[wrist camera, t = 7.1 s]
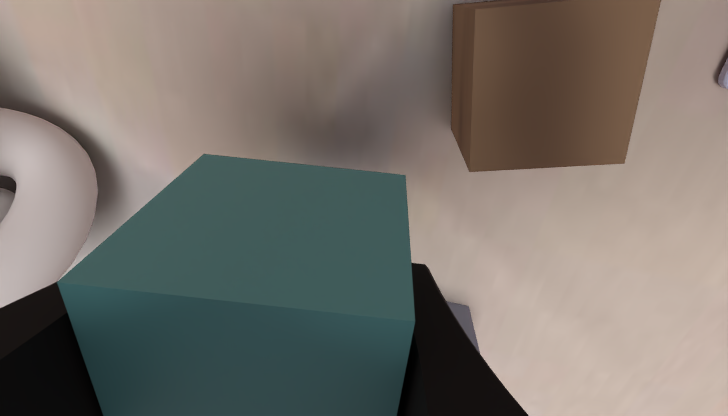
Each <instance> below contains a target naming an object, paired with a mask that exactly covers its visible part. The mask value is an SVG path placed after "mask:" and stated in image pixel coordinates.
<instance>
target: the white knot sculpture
mask: <svg viewBox="0 0 728 416" xmlns="http://www.w3.org/2000/svg"><path fill="white" fill-rule="evenodd" d="M0 175H2V176H8V177H11V178H13V179H14V180H15V182H16V186H17V188H16V193H13V192H11V191H9V190H7V189H4V188H0V308H1V307H4V306H6V305H8V304H10V303H12V302H14V301H17V300H19V299H21V298H23V297H25V296H27V295H29V294H32V293H34V292H36V291H38V290H40V289H42V288H45V287H47V286H49V285H51V284H53V283H55V282H57V281H58V280H59V279H60V277H61V276H62V275H63V274H64V273H65V272H66V270H67V269H68V268H69V267H70V266H71V264H72V263H73V261H74V260H75V258H76V256H77V255H78V253H79V251H80V250H81V248H82V246H83V245H84V243H85V241H86V239H87V236H88V234H89V231H90V228H91V226H92V223H93V220H94V216H95V210H96V203H97V195H98V187H97V179H96V172H95V169H94V167H93V165H92V162H91V160H90V158H89V156H88V154H87V153H86V151H85V150H84V149H83V148H82V146H81V145H80V144H79V143H78V142H77V140H76V139H74V138H73V137H72V136H71V135H69V134H68V133H67V132H65V131H64V130H63V129H61V128H60V127H58V126H56V125H54V124H52V123H50V122H48V121H46V120H44V119H42V118H39V117H36V116H33V115H30V114H27V113H24V112H20V111H15V110H11V109H6V108H0Z"/></svg>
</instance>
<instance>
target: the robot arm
mask: <svg viewBox="0 0 728 416" xmlns="http://www.w3.org/2000/svg"><path fill="white" fill-rule="evenodd" d="M718 82H719V85H720V86H721V87H723V88H726V89H728V58H727V60H726V62H725V64H724V66H723V68H722V70H721V73H720V75H719V78H718ZM411 266H412V281H413V296H414V311H415V325H414V330H413V335H412V340H411V345H410V351H409V356H408V361H407V366H406V371H405V376H404V381H403V386H402V391H401V396H400V401H399V406H398V412H397V416H528V414H527V413H526V412H525V411H524V410H523V408H522V407H521V406H520V405H519V404H518V402H517V401H516V400H515V399H514V398H513V397H512V395H511V394H510V393H509V392H508V390H507V389H506V388H505V387H504V385H503V384H502V383H501V382H500V380H499V379H498V378H497V376H496V375H495V374H494V372H493V371H492V370H491V368H490V367H489V366H488V364H487V363H486V362H485V360H484V359H483V357H482V356H481V355H480V353H479V352H478V351H477V349H476V348H475V346H474V345H473V343H472V342H471V340H470V339H469V337H468V336H467V334H466V333H465V331H464V330H463V328H462V326H461V325H460V323H459V322H458V320H457V319H456V317H455V316H454V314H453V312H452V311H451V309H450V307H449V306H448V304H447V302H446V300H445V299H444V297H443V295H442V293H441V292H440V290H439V288H438V286H437V284H436V282H435V280H434V278H433V276H432V275H431V272H430V270H429V269H428V267H427V266H426V265H425V264H416V263H411ZM57 282H58V281H57ZM57 282H55V283H53V284H51V285H49V286H47V287H45V288H42V289H40V290H38V291H36V292H34V293H32V294H29V295H27V296H25V297H23V298H21V299H19V300H17V301H14V302H12V303H10V304H8V305H6V306H4V307H1V308H0V416H103V413H102V410H101V407H100V404H99V401H98V399H97V396H96V393H95V390H94V387H93V384H92V381H91V378H90V376H89V373H88V370H87V367H86V364H85V361H84V358H83V356H82V353H81V350H80V347H79V344H78V341H77V338H76V335H75V333H74V330H73V327H72V324H71V321H70V318H69V315H68V312H67V310H66V307H65V304H64V301H63V298H62V295H61V292H60V289H59V287H58V284H57Z"/></svg>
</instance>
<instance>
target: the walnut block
mask: <svg viewBox="0 0 728 416" xmlns="http://www.w3.org/2000/svg"><path fill="white" fill-rule="evenodd" d="M660 2H661V0H496V1H485V2H474V3H464V4H453V29H452V109H451V130H452V132H453V134H454V137H455V139H456V141H457V144H458V146H459V148H460V151H461V153H462V155H463V158H464V160H465V163H466V165H467V167H468V170H469V172H478V171H496V170H514V169H532V168H550V167H568V166H587V165H605V164H623V163H625V159H626V154H627V150H628V145H629V141H630V136H631V132H632V127H633V123H634V118H635V114H636V109H637V105H638V101H639V96H640V92H641V87H642V83H643V78H644V74H645V69H646V65H647V60H648V56H649V51H650V47H651V43H652V38H653V34H654V29H655V25H656V20H657V16H658V11H659V7H660Z"/></svg>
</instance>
